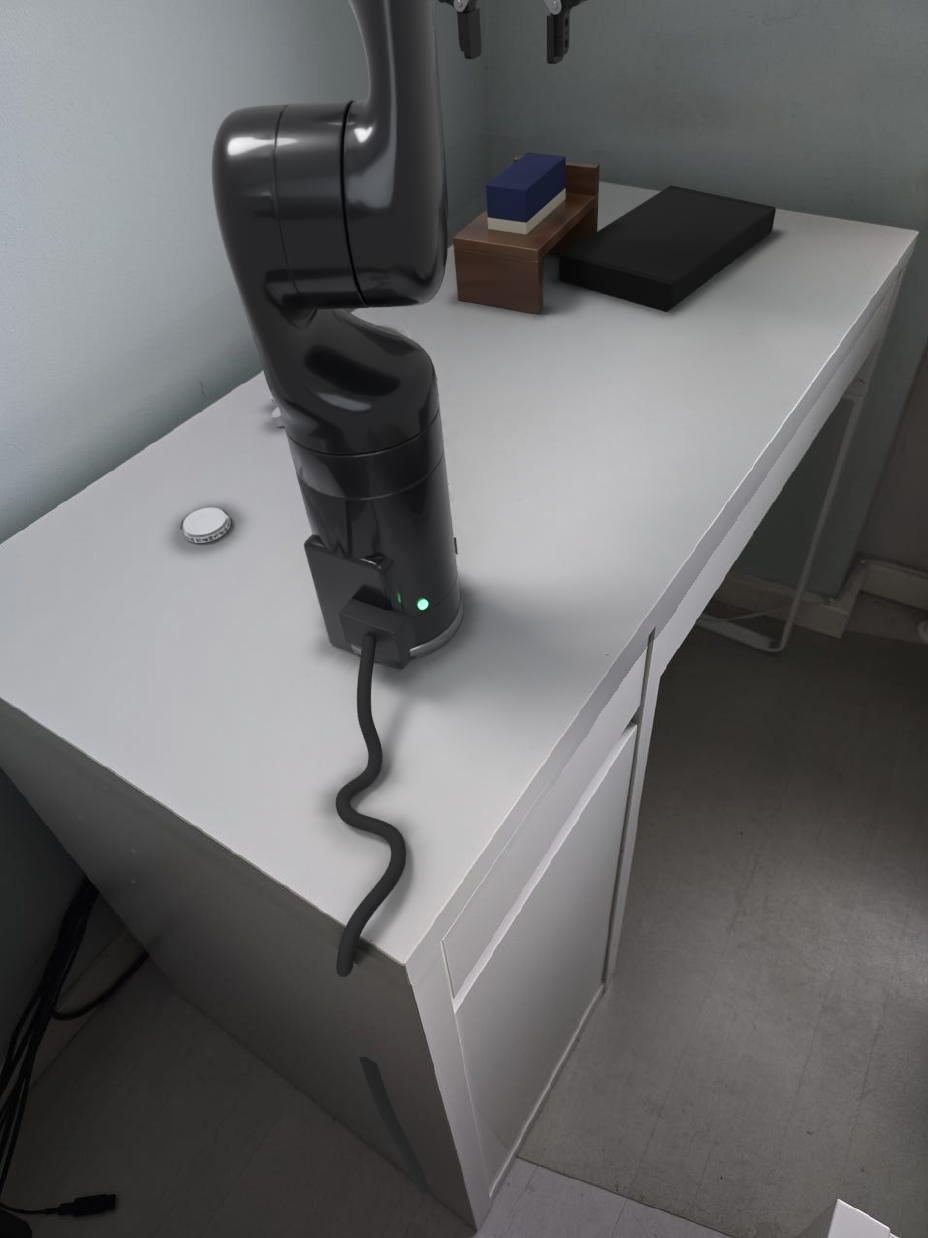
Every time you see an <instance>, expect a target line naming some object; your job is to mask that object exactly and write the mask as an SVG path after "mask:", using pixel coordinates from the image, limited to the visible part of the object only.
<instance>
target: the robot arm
mask: <svg viewBox="0 0 928 1238" xmlns="http://www.w3.org/2000/svg"><path fill="white" fill-rule="evenodd" d="M437 1H438V2H439V3H441V4H444V3H445V4H448V5H450V6H451V7H453V8H454V10H455V12H456V17H457V32H458V46H459V49H460V52H463V56H464V59H465V60H475V59H477V58H478V57H480V56H481V54H482V52H483V51H482V50H483V49H482V31H481V30H482V29H481V14H480V13H481V11H480V7H477V6H476V5H478V3H479V0H437ZM587 1H588V0H543V2H544V4H545V6H546V8H547V9H548V10H549V12H550V14H548V15H546V62H547V64H549V65H557V64H558V63H560V62H562V61H563V59H564V57H565V55H566V54H568V52H569V49H570V28H571V27H570V26H571V25H570V23H571V22H570V21H571V20H570V19H571V16H570V15H571V11H572V9H573V8H575V7H578V6H579V5H580V4H582V3H584V2H587ZM347 2H348V5H349V6H350V9H351V11H352V14H353V16H354V19H355V21H356V24H357V27H358V31H359V34H360V38H361V41H362V46H363V50H364V54H365V55H364V56H365V60H366V66H367V73H368V74H367V75H368V94H367V97H366V98H364V99H363V98H362V99H355V100H354V99H349V100H348V99H347V100H331V101H318V102H317V101H316V102H299V103H285V104H282V103H281V104H265V105H264V104H263V105H254V106H247V107H242V108H239V109H236V110H234V111H232V112H230V113H229V114H228V115H226V116H225V118H224V119H223V121H222V122H221V123H220V125H219V126H218V128H217V132H216V134H215V137H214V140H213V144H212V154H211V165H210V166H211V168H210V170H211V184H212V185H211V186H212V195H213V204H214V210H215V215H216V219H217V223H218V229H219V232H220V237H221V241H222V245H223V248H224V252H225V254H226V258H227V262H228V265H229V268H230V271H231V275H232V277H233V281H234V283H235V287H236V290H237V293H238V296H239V299H240V301H241V305H242V307H243V310H244V313H245V316H246V319H247V322H248V325H249V328H250V332H251V334H252V338H253V341H254V344H255V347H256V350H257V353H258V357H259V360H260V364H261V367H262V372H263V374H264V377H265V381H266V385H267V388H268V390H269V392H270V395H272V397H273V399H274V401H275V403H276V404H277V406H278V408H279V410H280V413H281V417H282V421H283V424H284V426H283V428H284V432H285V435H286V440H287V443H288V446H289V450H290V454H291V458H292V461H293V465H294V466H293V467H294V470H295V474H296V478H297V481H298V486H299V490H300V494H301V497H302V501H303V505H304V508H305V511H306V516H307V520H308V524H309V528H310V532H311V534H310V536H309V537H308V538H307V539H306V540H305V541H304V542H303V549H304V553H305V556H306V560H307V564H308V568H309V573H310V575H311V578H312V582H313V585H314V589H315V593H316V597H317V600H318V604H319V608H320V612H321V615H322V619H323V623H324V626H325V630H326V634H327V637H328V641H329V644H330V645H332V646H335V647H338V648H341V649H343V650H346V651H348V652H351V653H353V654H356V655H358V656H359V666H358V673H357V682H356V683H357V684H356V687H357V688H356V713H357V714H356V715H357V720H358V725H359V728H360V731H361V734H362V736H363V737H362V738H363V739H364V742H365V746H366V749H367V757H368V759H367V765H366V768H365V770H363V771H362V773H360V774H359V775H358V776H357V777H355V778H354V779H352V780H350V781H349V782H347V783H346V784H344V785H343V786H342V788H340V790H339V791H338V792H337V794H336V797H335V810H336V813H337V815H338V817H339V818H340V820H341V821H342V822H344V823H345V824H346V825H347V826H350V827H352V828H355V829H357V830H359V831H363V832H366V833H370V834H372V835H375V836H378V837H380V838H382V839H383V840H385V841H386V842H387V843H388V846H389V848H390V859H389V862H388V866H387V867H386V869H385V872H384V873H383V875H382V876H381V877H380V879H379V880H378V881H377V883H376V884H375V885H374V886H373V887H372V889H371V890H370V891H369V892H368V893H367V894H366V895H365V897H364V898H363V899H362V901H361V902H360V903H359V905H358V906H357V907H356V909H355V910H354V911H353V913H352V915H350V918H349V919H348V921H347V923H346V925H345V928H344V930H343V931H342V934H341V938H340V941H339V945H338V951H337V956H336V963H335V964H336V966H335V968H336V974H337V975H338V976H339V977H340V978H346V977H348V976H349V975H350V974H351V972H352V970H353V968H354V962H355V956H356V950H357V946H358V942H359V940H360V937H361V935H362V933H363V931H364V929H365V927H366V925H367V924H368V922H369V921H370V919H371V918H372V916H373V915H374V914H375V913H376V911H377V910H378V909H379V907H381V905H382V904H383V902H384V901H385V900H386V899H387V898H388V897H389V895H390V894H391V893H392V892H393V890H394V889H395V887H396V886H397V884H398V883H399V882H400V879H401V877H402V876H403V873H404V870H405V868H406V861H407V847H406V841H405V839H404V836H403V834H402V833H401V831H400V830H398V828H397V827H395V826H394V825H392V824H390V823H388V822H386V821H385V820H383V819H382V820H381V819H378V818H375V817H372V816H369V815H366V814H363V813H360V812H359V811H356V810H355V809H354V808H353V807H352V806H351V802H352V799H354V798H355V796H357V795H358V794H360V793H361V792H363V791H364V790H365V789H367V788H369V787H370V786H371V785H373V783H374V782H375V781H376V780H377V778H378V777H379V775H380V773H381V770H382V767H383V760H384V755H383V754H384V753H383V746H382V743H381V739H380V736H379V733H378V730H377V728H376V725H375V722H374V718H373V711H372V710H373V709H372V685H373V684H372V683H373V673H374V663H375V662H378V663H379V664H383V665H385V666H388V667H390V668H393V669H396V670H399V671H400V670H403V669H405V668H406V666H407V665H408V664H409V663H410V662H411V660H414V659H418V658H421V657H423V656H426V655H429V654H431V653H432V652H435V651H436V650H438V649H439V648H441V647H442V646H443V645H445V644H446V643H447V642H448V641H449V640H450V639H451V638H452V637H454V634H455V633H457V630H458V629H459V627H460V625H461V622H462V620H463V615H464V603H463V595H462V591H461V588H460V580H459V572H458V570H459V569H458V563H457V556H458V555H459V553H458V542H457V537H455V535H454V526H453V519H452V518H453V517H452V516H453V515H452V508H451V499H450V498H451V497H450V489H449V482H448V481H449V480H448V479H449V478H448V471H447V462H446V452H445V444H444V443H445V442H444V441H445V440H444V432H443V424H442V415H441V405H440V395H439V387H438V377H437V372H436V368H435V365H434V363H433V360H432V358H431V356H430V355H429V353H428V352H427V351H426V350H425V348H423V346H421V345H420V344H419V343H418V342H416V341H415V340H414V339H411V338H409V337H407V336H406V335H404V334H402V333H399V332H396V331H393V330H390V329H387V328H385V327H382V326H379V325H376V324H374V323H371V322H369V321H367V320H364V319H363V318H360V317H358V316H356V315H354V314H352V313H351V312H349V311H348V310H350V309H370V308H373V309H375V308H377V309H378V308H401V307H402V308H403V307H415V306H421V305H425V304H427V303H429V302H430V301H432V300H433V299H434V298H435V297H436V296H437V294H438V292H439V291H440V289H441V287H442V285H443V281H444V277H445V274H446V269H447V267H446V266H447V260H448V252H449V251H448V250H449V249H448V248H449V198H448V182H447V163H446V162H447V161H446V151H445V150H446V149H445V137H444V125H443V124H444V123H443V112H442V109H443V108H442V98H441V86H440V85H441V83H440V73H439V72H440V71H439V59H438V58H439V57H438V45H437V43H438V42H437V31H436V17H435V4H434V3H435V2H434V0H347ZM358 1058H359V1062H360V1064H361V1068H362V1071H363V1075H364V1077H365V1080H366V1084H367V1087H368V1089H369V1091H370V1094H371V1097H372V1099H373V1102H374V1104H375V1106H376V1109H377V1112H378V1113H379V1115H380V1118H381V1120H382V1122H383V1124H384V1127H385V1128H386V1130H387V1132H388V1134H389V1136H390V1138H391V1139H392V1141H393V1144H394V1145H395V1147H396V1149H397V1150H398V1152H399V1154H400V1155H401V1158H402V1159H403V1161H404V1163H405V1165H406V1166H407V1168H408V1171H409V1173H410V1174H411V1176H412V1178H413V1181H414V1182H415V1184H416V1185H415V1186H416V1187H417V1189H418V1191H419V1193H420V1194H421V1195H426V1194H428V1193H429V1191H430V1185H429V1182H428V1180H427V1177H426V1174H425V1172H424V1170H423V1168H422V1165H421V1164H420V1161H419V1159H418V1157H417V1155H416V1153H415V1152H414V1149H413V1147H412V1145H411V1143H410V1140H409V1139H408V1138H407V1137H408V1136H407V1135H406V1134H405V1131H404V1129H403V1127H402V1125H401V1123H400V1121H399V1119H398V1117H397V1114H396V1112H395V1110H394V1108H393V1105H392V1103H391V1100H390V1098H389V1095H388V1092H387V1090H386V1087H385V1084H384V1081H383V1077H382V1075H381V1071H380V1069H379V1065H378V1063H377V1062H375V1061H373V1060H372V1059H370V1058H368V1057H366V1056H358Z"/></svg>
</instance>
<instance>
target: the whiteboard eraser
mask: <svg viewBox="0 0 928 1238" xmlns="http://www.w3.org/2000/svg"><path fill="white" fill-rule="evenodd" d="M522 156H523V157H521V158H520V159H519V160H518V161H516V162H515V163H514V162H513V163H512V164H511V165H510V166H508V167H506V169H504V170H503V171H502V172H501V173H500V174H498V175H497V176H496V177H495V178H493V179H492V180H491V181H489V182H488V183H487V184H486V185H485V195H486V197H485V198H486V210H487V216H488V229H491V230H498V231H505V232H512V233H519V234H526V235H527V234H528V233H529V232H530V231H531V230H532V229H533V228H534V227H536V226H537V225H538V224H539V223H540V222H541V221H542V220H543V219H544V218H545V217H547V216H548V215H549V214H550V213H551V212H552V211H553V210H554V209H555V208H556V207H558V206H559V205H560V204H561V203H562V202H563V201H564V200H565V195H566V189H565V181H566V159H567V156H565V155H555V154H545V153H539V152H538V153H536V152H526V153H525V154H524V155H522Z"/></svg>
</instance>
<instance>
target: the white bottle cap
mask: <svg viewBox="0 0 928 1238" xmlns="http://www.w3.org/2000/svg"><path fill="white" fill-rule="evenodd" d="M231 523H232V521H231V517H230V515H229V513H228V511H227V510H226V509H224V508H222V507H219V506H214V505H213V506H210V505H209V506H202V507H199V508H197V509H193V510H192V511H191V512H189V513H187V514H186V515H185V516H184V517H183V519H182V520H181V522H180V524H179V528H180V531H181V534H182V536H183V538H184V539H186V540H187V541H188V542H191V543H195V544H202V543H204V544H205V543H209V542H212V541H216V540H217V539H219V538H221V537H223V536H224V535H225V534H226V533H227V532H228V531H229V529H230V528H231Z"/></svg>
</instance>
